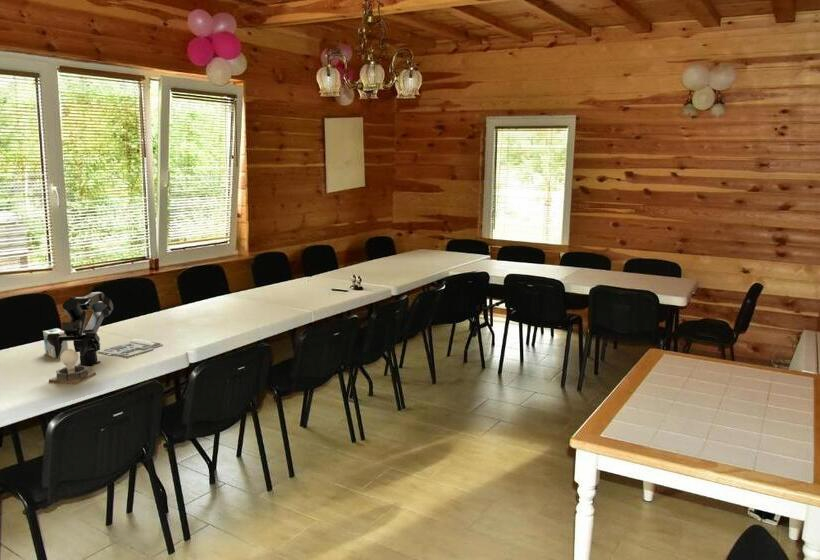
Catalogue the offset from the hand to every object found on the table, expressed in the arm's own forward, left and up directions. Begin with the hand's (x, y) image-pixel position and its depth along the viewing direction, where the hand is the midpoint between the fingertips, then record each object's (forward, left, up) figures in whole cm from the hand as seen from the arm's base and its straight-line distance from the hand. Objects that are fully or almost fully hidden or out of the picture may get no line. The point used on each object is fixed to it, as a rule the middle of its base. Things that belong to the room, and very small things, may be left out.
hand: (69, 357), depth 257 cm
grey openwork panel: (-42, -2, -10) cm, 44 cm away
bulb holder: (-1, 0, -9) cm, 9 cm away
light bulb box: (-28, -31, -10) cm, 43 cm away
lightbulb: (-1, -1, -8) cm, 9 cm away
